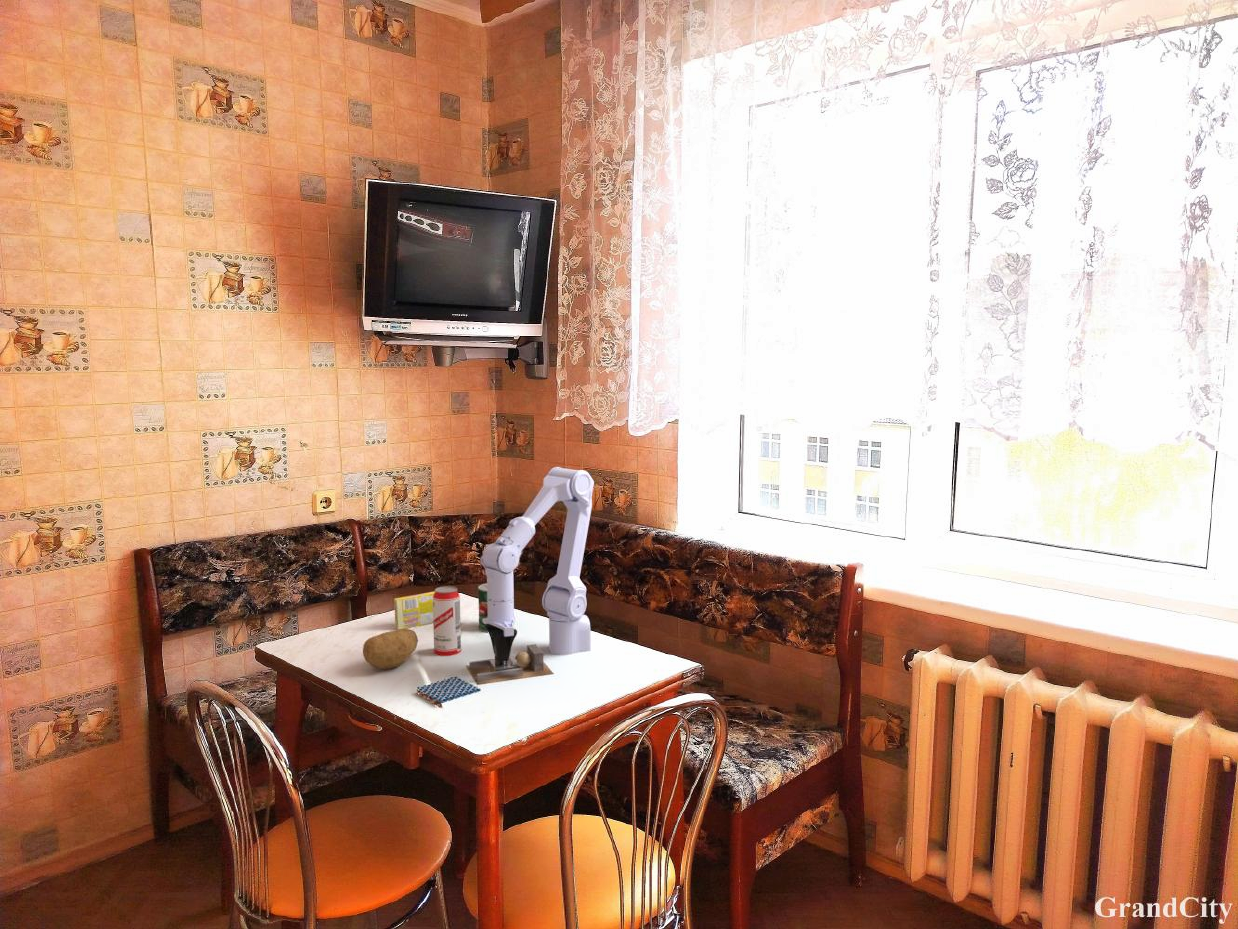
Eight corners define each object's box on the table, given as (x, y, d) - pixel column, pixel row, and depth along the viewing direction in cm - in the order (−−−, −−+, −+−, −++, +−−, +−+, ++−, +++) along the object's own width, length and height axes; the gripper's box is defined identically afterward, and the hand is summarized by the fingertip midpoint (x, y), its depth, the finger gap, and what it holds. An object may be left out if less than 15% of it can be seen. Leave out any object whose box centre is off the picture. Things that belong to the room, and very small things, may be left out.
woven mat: (456, 683, 186) (456, 674, 185) (483, 697, 178) (483, 688, 178) (413, 695, 179) (413, 686, 178) (439, 711, 171) (439, 701, 171)
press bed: (538, 660, 198) (538, 639, 197) (554, 678, 187) (553, 656, 186) (465, 670, 192) (465, 648, 191) (477, 689, 181) (476, 666, 180)
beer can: (455, 660, 198) (453, 593, 196) (429, 658, 199) (427, 592, 197) (465, 651, 204) (463, 586, 202) (440, 649, 205) (438, 585, 203)
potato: (430, 660, 198) (429, 627, 197) (382, 679, 186) (381, 644, 185) (401, 652, 203) (400, 620, 202) (353, 670, 192) (351, 636, 190)
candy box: (452, 617, 230) (451, 587, 229) (455, 619, 229) (455, 589, 228) (394, 628, 221) (393, 597, 220) (397, 631, 219) (396, 599, 218)
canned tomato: (515, 627, 222) (515, 586, 220) (492, 634, 216) (491, 592, 215) (495, 621, 227) (495, 580, 226) (472, 628, 221) (471, 586, 220)
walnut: (526, 665, 193) (529, 650, 192) (531, 671, 189) (533, 655, 189) (511, 664, 191) (513, 649, 191) (515, 670, 188) (518, 654, 188)
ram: (511, 663, 192) (510, 638, 192) (518, 672, 187) (517, 647, 186) (489, 666, 191) (488, 641, 190) (495, 675, 185) (495, 650, 184)
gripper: (475, 591, 192) (476, 649, 194) (490, 609, 178) (491, 671, 180) (506, 588, 194) (506, 646, 196) (522, 605, 181) (523, 667, 183)
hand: (501, 658), depth 188 cm, fingers closed on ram, 3 cm apart
